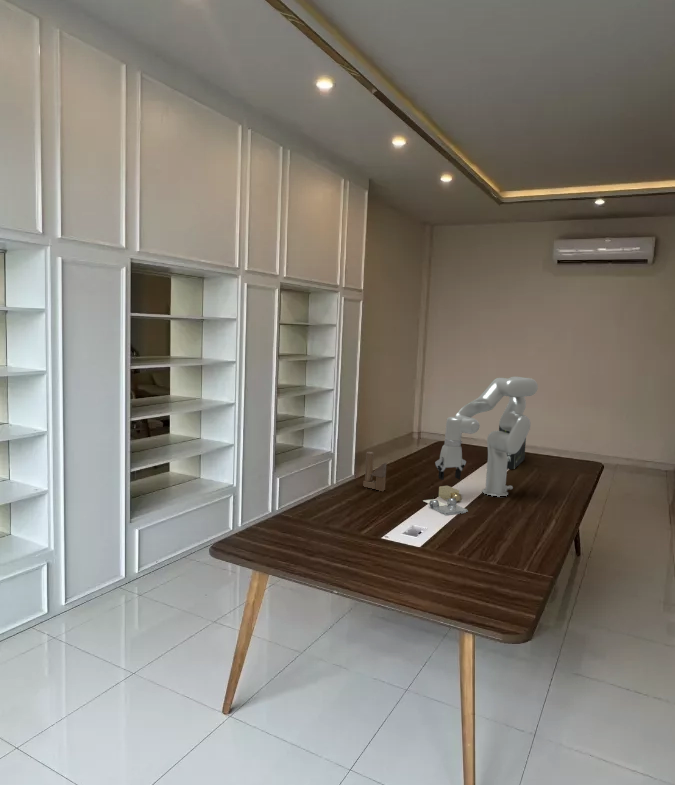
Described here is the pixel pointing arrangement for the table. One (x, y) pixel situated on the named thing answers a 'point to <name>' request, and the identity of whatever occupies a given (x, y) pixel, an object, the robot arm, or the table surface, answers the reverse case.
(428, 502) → the pad
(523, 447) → the router box
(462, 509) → the hinge base
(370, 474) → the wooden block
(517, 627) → the table surface
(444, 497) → the brass knob plate
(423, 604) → the table surface
